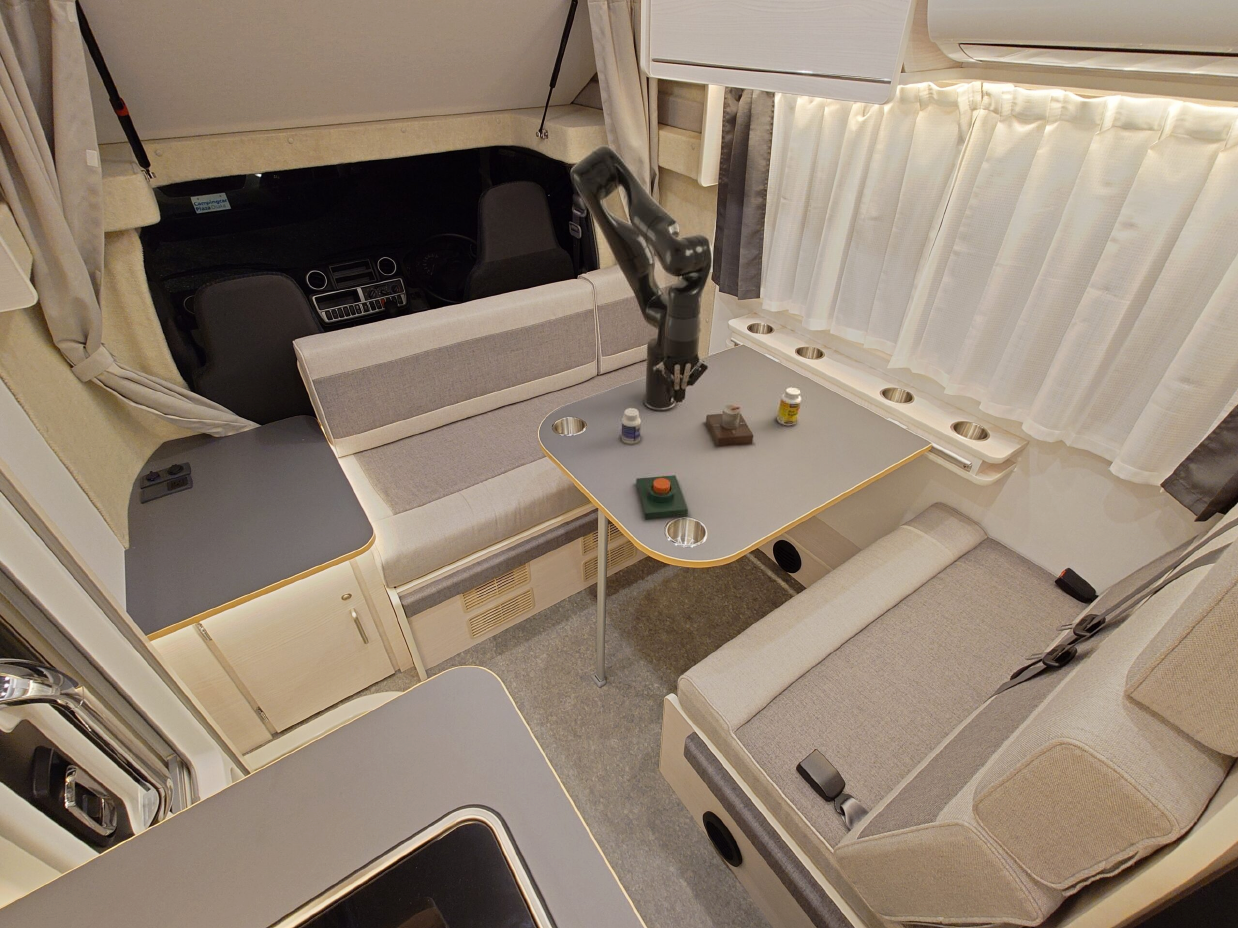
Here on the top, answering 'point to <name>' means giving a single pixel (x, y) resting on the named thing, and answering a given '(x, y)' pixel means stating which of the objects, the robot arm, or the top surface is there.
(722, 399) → the top surface
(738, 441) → the dial panel
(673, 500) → the switch block
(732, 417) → the dial
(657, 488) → the button
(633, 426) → the pill bottle
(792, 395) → the supplement bottle
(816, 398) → the top surface
